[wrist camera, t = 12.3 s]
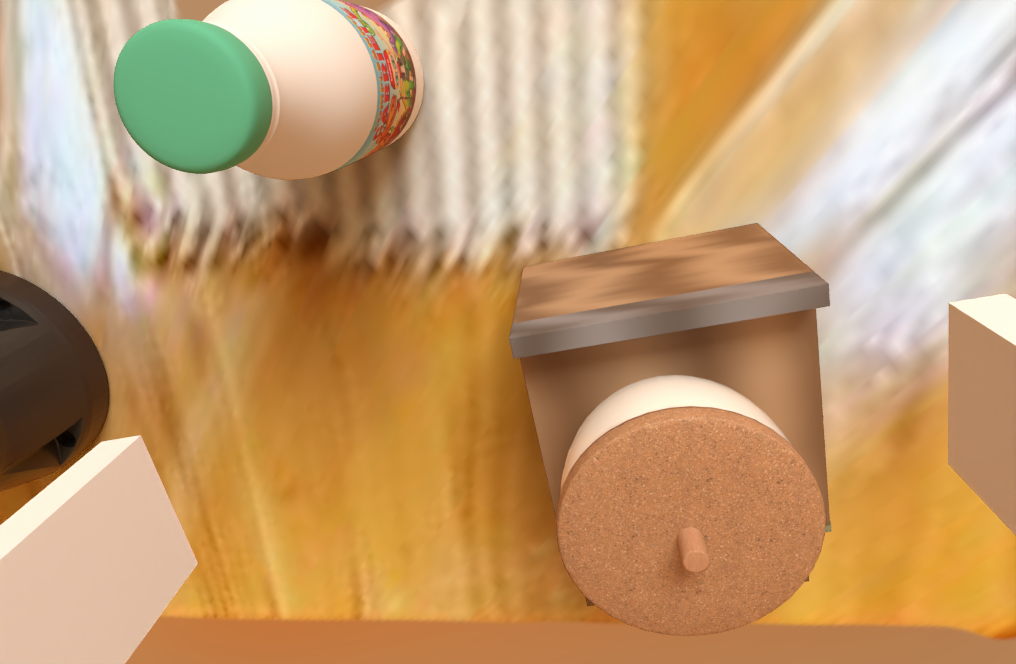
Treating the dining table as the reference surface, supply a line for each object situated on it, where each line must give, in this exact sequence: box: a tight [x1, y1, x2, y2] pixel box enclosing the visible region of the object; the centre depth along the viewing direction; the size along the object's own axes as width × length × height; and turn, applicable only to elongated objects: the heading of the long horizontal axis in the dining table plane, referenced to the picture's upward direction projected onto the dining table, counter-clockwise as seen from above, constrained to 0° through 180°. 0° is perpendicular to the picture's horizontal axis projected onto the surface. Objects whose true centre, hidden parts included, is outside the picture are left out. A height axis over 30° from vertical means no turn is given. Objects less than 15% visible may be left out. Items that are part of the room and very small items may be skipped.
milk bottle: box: [114, 0, 424, 180], centre depth 31 cm, size 8×8×20 cm
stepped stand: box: [509, 223, 831, 606], centre depth 40 cm, size 14×22×12 cm, turn 12°
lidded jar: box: [556, 375, 826, 636], centre depth 31 cm, size 11×11×9 cm
